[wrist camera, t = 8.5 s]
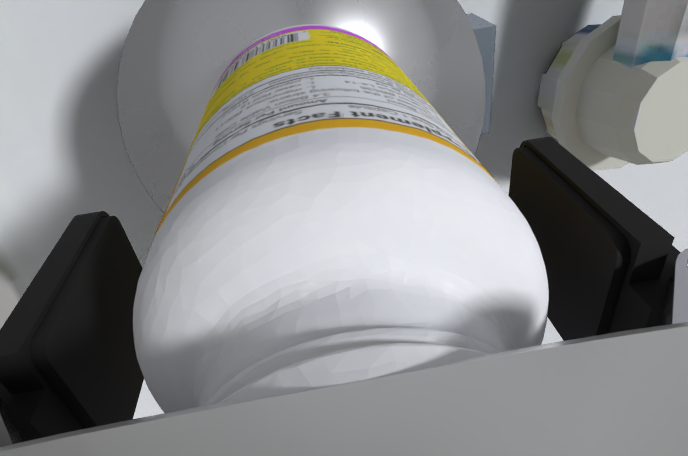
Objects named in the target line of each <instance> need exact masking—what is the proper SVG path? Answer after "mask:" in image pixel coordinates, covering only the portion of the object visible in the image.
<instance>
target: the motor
mask: <svg viewBox="0 0 688 456" xmlns="http://www.w3.org/2000/svg"><path fill="white" fill-rule="evenodd" d="M302 24H322V25H328V26H334V27H338V28H342V29H346V30H349V31H352V32H354V33H356V34H359V35H361V36H363V37H364V38H366V39H368V40H370V41H371V42H373V43H374V44H375V45H377V46H378V47H379V48H381V49H382V50H383V51H384V52H385V53H386V54H387V55H388V56H389V57H390V58H391V59H392V60H393V61H394V62H395V63H396V64H397V65H398V66H399V68H400V69H401V70H402V71H403V72H404V73H405V75H406V76H407V77H408V78H409V79H410V80H411V82H412V83H413V84H414V85H415V86H416V88H417V89H418V90H419V91H420V92H421V94H422V95H423V96H424V97H425V98H426V99H427V101H428V102H429V103H430V104H431V105H432V107H433V108H434V109H435V110H436V111H437V113H438V114H439V115H440V116H441V117H442V119H443V120H444V121H445V122H446V123H447V124H448V126H449V127H450V128H451V129H452V130H453V132H454V133H455V134H456V135H457V136H458V138H459V139H460V140H461V141H462V142H463V143H464V144H465V146H466V147H467V148H468V149H469V150H470V152H471V153H472V154H473V155H475V152H476V150H477V147H478V143H479V139H480V135H481V134H483V133H489V129H490V114H491V98H492V83H493V67H494V52H495V37H496V25H494V24H492V23H490V22H488V21H486V20H484V19H482V18H480V17H478V16H476V15H474V14H472V13H471V14H465V12H464V10H463V9H462V7H461V6H460V4H459V2H458V1H457V0H145V2H144V3H143V5H142V7H141V8H140V10H139V11H138V13H137V15H136V16H135V19H134V21H133V24H132V26H131V28H130V31H129V33H128V36H127V38H126V40H125V44H124V48H123V52H122V56H121V61H120V65H119V72H118V84H117V105H118V118H119V123H120V128H121V133H122V138H123V142H124V145H125V148H126V150H127V153H128V156H129V159H130V162H131V164H132V166H133V168H134V170H135V172H136V174H137V176H138V178H139V180H140V182H141V183H142V185H143V186H144V188H145V189H146V191H147V192H148V194H149V195H150V197H151V198H152V200H153V201H154V202H155V203H156V204H157V206H158V207H159V208H160V209H161V210H162V211H163V212H165V210H166V207H167V205H168V202H169V200H170V197H171V195H172V192H173V190H174V187H175V185H176V183H177V180H178V178H179V175H180V173H181V170H182V168H183V165H184V162H185V160H186V157H187V155H188V152H189V150H190V147H191V145H192V142H193V140H194V137H195V135H196V132H197V130H198V127H199V125H200V122H201V119H202V117H203V114H204V112H205V109H206V107H207V104H208V102H209V99H210V97H211V94H212V92H213V89H214V87H215V86H216V84H217V82H218V80H219V78H220V76H221V75H222V73H223V72H224V70H225V69H226V67H227V66H228V65H229V63H230V62H231V61H232V60H233V59H234V58H235V57H236V56H237V55H238V54H239V53H240V52H241V51H242V50H243V49H244V48H245V47H247V46H248V45H249V44H251V43H252V42H254V41H256V40H257V39H259V38H261V37H262V36H264V35H266V34H268V33H271V32H273V31H276V30H279V29H282V28H286V27H289V26H296V25H302Z"/></svg>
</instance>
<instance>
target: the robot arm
mask: <svg viewBox="0 0 688 456" xmlns="http://www.w3.org/2000/svg"><path fill="white" fill-rule="evenodd" d="M509 197H510V198H511V200H512V201H513V202H514V203H515V205H516V206H517V207H518V209H519V210H520V212H521V213H522V215H523V216H524V217H525V219H526V221H527V222H528V224H529V226H530V228H531V230H532V232H533V234H534V236H535V238H536V240H537V242H538V245H539V247H540V251H541V254H542V257H543V261H544V264H545V268H546V274H547V279H548V290H549V301H548V313H547V317H548V318H549V320H550V321H551V323H552V324H553V326H554V327H555V329H556V330H557V331H558V333H559V334H560V336H561V337H562V339H563V340H564V341H560V342H555V343H549V344H543V345H538V346H532V347H526V348H521V349H515V350H509V351H504V352H498V353H492V354H487V355H483V356H478V357H474V358H469V359H464V360H460V361H456V362H451V363H447V364H442V365H438V366H433V367H429V368H424V369H419V370H414V371H410V372H405V373H400V374H395V375H390V376H385V377H379V378H374V379H369V380H364V381H358V382H352V383H347V384H342V385H336V386H330V387H324V388H319V389H313V390H306V391H300V392H294V393H287V394H281V395H274V396H267V397H260V398H252V399H245V400H238V401H231V402H224V403H217V404H212V405H207V406H201V407H196V408H191V409H186V410H180V411H175V412H170V413H164V414H159V415H154V416H148V417H143V418H138V419H133V416H134V412H135V409H136V405H137V401H138V398H139V394H140V391H141V387H142V383H143V380H144V376H143V374H142V371H141V368H140V365H139V362H138V360H137V356H136V350H135V345H134V335H133V306H134V301H135V295H136V290H137V284H138V280H139V277H140V275H141V272H142V266H141V264H140V262H139V260H138V258H137V256H136V254H135V252H134V250H133V248H132V246H131V244H130V242H129V240H128V238H127V236H126V233H125V231H124V229H123V227H122V225H121V223H120V221H119V220H118V218H117V217H115V216H109V215H108V214H107V213H106V212H104V211H101V212H95V213H89V214H83V215H77V216H75V217H74V218H73V219H72V221H71V223H70V224H69V226H68V227H67V229H66V230H65V232H64V233H63V235H62V236H61V238H60V239H59V241H58V242H57V244H56V245H55V247H54V249H53V250H52V252H51V253H50V255H49V256H48V258H47V259H46V261H45V262H44V264H43V265H42V267H41V268H40V270H39V271H38V273H37V275H36V276H35V278H34V279H33V281H32V282H31V284H30V285H29V287H28V288H27V290H26V291H25V293H24V294H23V296H22V298H21V299H20V301H19V302H18V304H17V305H16V307H15V308H14V310H13V311H12V313H11V315H10V316H9V317H8V319H7V321H6V322H5V324H4V325H3V327H2V328H1V330H0V456H688V249H685V250H684V251H683V252H679V251H678V250H677V249H676V248H675V247H674V246H672V243H673V240H674V237H673V236H672V235H671V234H669V233H668V232H667V231H666V230H664V229H663V228H662V227H661V226H660V225H658V224H657V223H656V222H655V221H653V220H652V219H651V218H650V217H649V216H647V215H646V214H645V213H644V212H642V211H641V210H640V209H639V208H637V207H636V206H635V205H634V204H633V203H631V202H630V201H629V200H628V199H626V198H625V197H624V196H623V195H622V194H620V193H619V192H618V191H617V190H615V189H614V188H613V187H612V186H611V185H609V184H608V183H607V182H606V181H604V180H603V179H602V178H601V177H599V176H598V175H597V174H596V173H595V172H593V171H592V170H591V169H590V168H588V167H587V166H586V165H585V164H584V163H582V162H581V161H580V160H579V159H577V158H576V157H575V156H574V155H573V154H571V153H570V152H569V151H568V150H566V149H565V148H564V147H563V146H561V145H560V144H559V143H558V142H557V141H555V140H554V139H553V138H551V137H544V138H538V139H532V140H526V141H523V142H522V144H521V146H520V148H516V149H515V150H514V152H513V158H512V168H511V178H510V188H509Z"/></svg>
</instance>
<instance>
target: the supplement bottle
mask: <svg viewBox="0 0 688 456" xmlns="http://www.w3.org/2000/svg"><path fill="white" fill-rule="evenodd" d="M548 301H549V290H548V279H547V274H546V268H545V264H544V261H543V257H542V254H541V251H540V247H539V245H538V242H537V240H536V238H535V236H534V234H533V232H532V230H531V228H530V226H529V224H528V222H527V221H526V219H525V217H524V216H523V215H522V213H521V212H520V210H519V209H518V207H517V206H516V205H515V203H514V202H513V201H512V200H511V198H510V197H509V196H508V195H507V194H506V192H505V191H504V190H503V189H502V187H501V186H500V185H499V184H498V183H497V181H496V180H495V179H494V178H493V177H492V176H491V175H490V173H489V172H488V171H487V170H486V169H485V168H484V167H483V165H482V164H481V163H480V162H479V161H478V160H477V158H476V157H475V156H474V155H473V154H472V153H471V152H470V150H469V149H468V148H467V147H466V146H465V144H464V143H463V142H462V141H461V140H460V139H459V138H458V136H457V135H456V134H455V133H454V132H453V130H452V129H451V128H450V127H449V126H448V124H447V123H446V122H445V121H444V120H443V119H442V117H441V116H440V115H439V114H438V113H437V111H436V110H435V109H434V108H433V107H432V105H431V104H430V103H429V102H428V101H427V99H426V98H425V97H424V96H423V95H422V94H421V92H420V91H419V90H418V89H417V88H416V86H415V85H414V84H413V83H412V82H411V80H410V79H409V78H408V77H407V76H406V75H405V73H404V72H403V71H402V70H401V69H400V68H399V66H398V65H397V64H396V63H395V62H394V61H393V60H392V59H391V58H390V57H389V56H388V55H387V54H386V53H385V52H384V51H383V50H382V49H381V48H379V47H378V46H377V45H375V44H374V43H373V42H371V41H370V40H368V39H366V38H364V37H363V36H361V35H359V34H356V33H354V32H352V31H349V30H346V29H342V28H338V27H334V26H328V25H322V24H302V25H296V26H289V27H286V28H282V29H279V30H276V31H273V32H271V33H268V34H266V35H264V36H262V37H261V38H259V39H257V40H256V41H254V42H252V43H251V44H249V45H248V46H247V47H245V48H244V49H243V50H242V51H241V52H240V53H239V54H238V55H237V56H236V57H235V58H234V59H233V60H232V61H231V62H230V63H229V65H228V66H227V67H226V69H225V70H224V72H223V73H222V75H221V76H220V78H219V80H218V82H217V84H216V86H215V87H214V89H213V92H212V94H211V97H210V99H209V102H208V104H207V107H206V109H205V112H204V114H203V117H202V119H201V122H200V125H199V127H198V130H197V132H196V135H195V137H194V140H193V142H192V145H191V147H190V150H189V152H188V155H187V157H186V160H185V162H184V165H183V168H182V170H181V173H180V175H179V178H178V180H177V183H176V185H175V187H174V190H173V192H172V195H171V197H170V200H169V202H168V205H167V207H166V210H165V212H164V214H163V217H162V219H161V221H160V224H159V226H158V228H157V231H156V234H155V236H154V239H153V242H152V245H151V248H150V250H149V253H148V256H147V258H146V261H145V264H144V267H143V269H142V272H141V275H140V277H139V280H138V284H137V290H136V295H135V301H134V306H133V335H134V345H135V350H136V356H137V360H138V362H139V365H140V368H141V371H142V374H143V376H144V379H145V381H146V384H147V386H148V388H149V390H150V392H151V394H152V395H153V397H154V398H155V400H156V402H157V403H158V405H159V406H160V407H161V409H162V410H163V411H164V413H170V412H175V411H180V410H186V409H191V408H196V407H201V406H207V405H212V404H217V403H224V402H231V401H238V400H245V399H252V398H260V397H267V396H274V395H281V394H287V393H294V392H300V391H306V390H313V389H319V388H324V387H330V386H336V385H342V384H347V383H352V382H358V381H364V380H369V379H374V378H379V377H385V376H390V375H395V374H400V373H405V372H410V371H414V370H419V369H424V368H429V367H433V366H438V365H442V364H447V363H451V362H456V361H460V360H464V359H469V358H474V357H478V356H483V355H487V354H492V353H498V352H504V351H509V350H515V349H521V348H526V347H532V346H538V345H541V343H542V340H543V337H544V332H545V327H546V322H547V313H548Z"/></svg>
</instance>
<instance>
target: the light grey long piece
mask: <svg viewBox="0 0 688 456" xmlns="http://www.w3.org/2000/svg"><path fill="white" fill-rule="evenodd" d="M537 106H539V107H541V111H542V114H543V117H544V120H545V123H546V127H547V130H546V131H545V132H547V133H548V134H549V135H551V136H552V137H554V138H555V139H556V140H558V142H559V144H560V145H561V146H563V147H564V148H565V149H566V150H568V151H569V152H570V153H571V154H573V155H574V156H575V157H576V158H577V159H579V160H580V161H581V162H582V163H584V164H585V165H586V166H587V167H588V168H590V169H591V170H602V169H615V168H621V167H623V166H624V165H626V164H627V163H629V162H630V163H633V164H636V165H640V164H653V163H662V162H668V161H673V160H674V159H676V158H677V157H679V156H680V155H682V154H683V153H685V152H687V151H688V0H624V5H623V10H622V15H621V16H612V17H611V18H610V19H608V20H607V21H606V22H604V23H603V24H598V25H588V26H586V27H585V28H583V29H582V30H581V31H579V32H578V33H576V34H575V35H573V36H572V37H571V38H569V39H568V40H566V41H565V42H563V43H562V47H561V49H560V50H559V52H558V54H557V56H556V57H555V59H554V61H553V63H552V64H551V66H550V68H549V69H548V71H547V73H545V74H542V76H541V82H540V89H539V96H538V102H537Z"/></svg>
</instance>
